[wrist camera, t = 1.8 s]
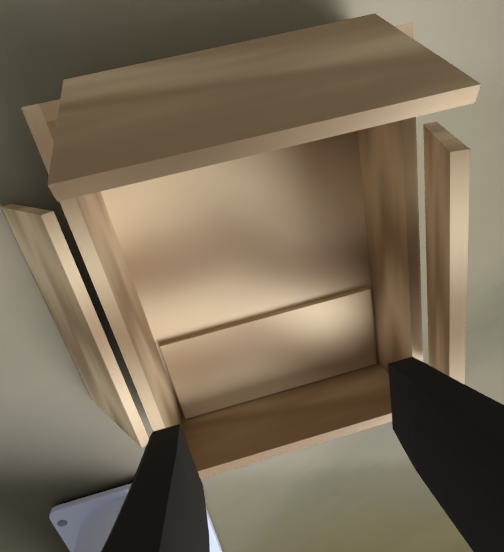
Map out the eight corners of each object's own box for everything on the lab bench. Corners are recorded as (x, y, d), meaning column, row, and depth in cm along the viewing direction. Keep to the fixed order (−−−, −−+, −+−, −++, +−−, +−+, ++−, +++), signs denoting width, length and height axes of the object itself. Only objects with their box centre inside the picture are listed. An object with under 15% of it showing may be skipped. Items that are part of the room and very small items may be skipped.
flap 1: (373, 28, 12) (474, 102, 9) (70, 94, 11) (57, 201, 8) (374, 13, 12) (481, 83, 8) (63, 79, 11) (47, 185, 8)
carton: (385, 361, 23) (429, 415, 19) (113, 440, 21) (99, 516, 17) (359, 41, 16) (421, 19, 12) (-34, 127, 15) (-110, 134, 11)
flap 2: (439, 365, 17) (462, 464, 13) (428, 365, 17) (449, 463, 13) (436, 122, 13) (470, 149, 9) (423, 124, 13) (450, 152, 9)
